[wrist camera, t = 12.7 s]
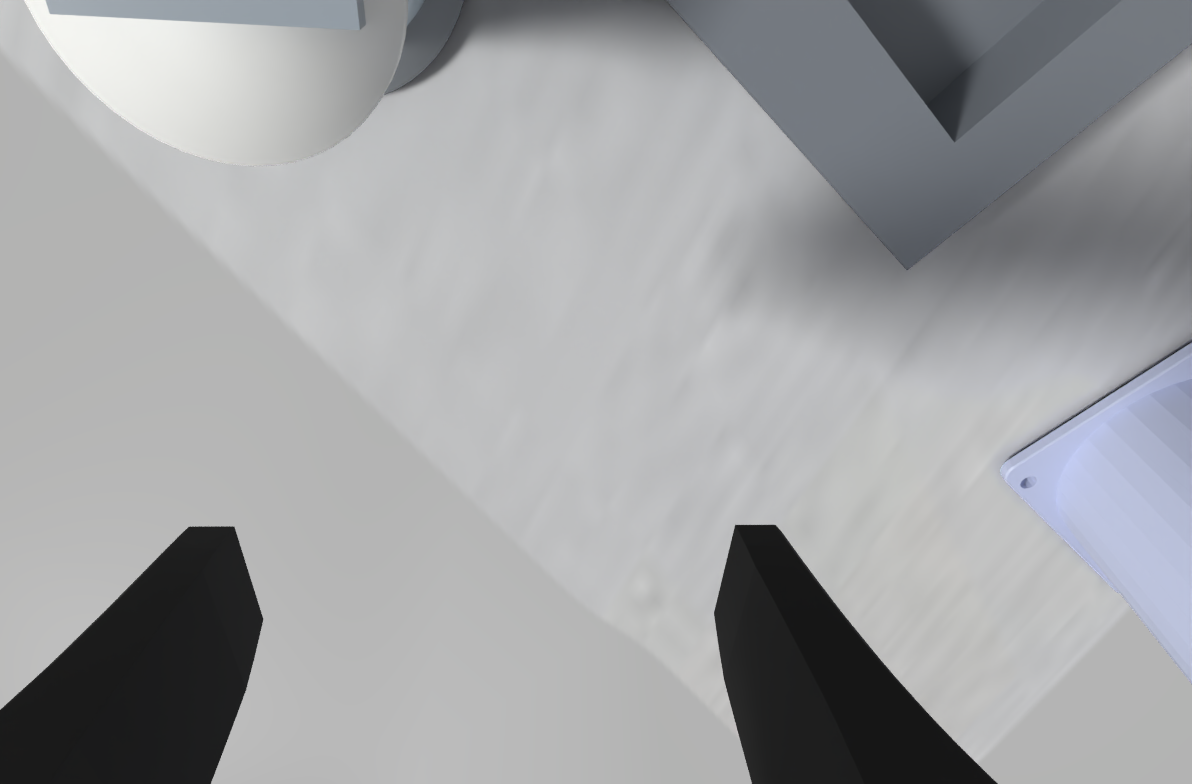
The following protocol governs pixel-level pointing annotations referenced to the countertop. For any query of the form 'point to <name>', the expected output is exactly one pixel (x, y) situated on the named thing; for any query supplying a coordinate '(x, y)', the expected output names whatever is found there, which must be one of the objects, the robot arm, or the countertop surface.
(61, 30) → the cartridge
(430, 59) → the pad
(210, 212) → the countertop surface
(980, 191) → the grey flat block
